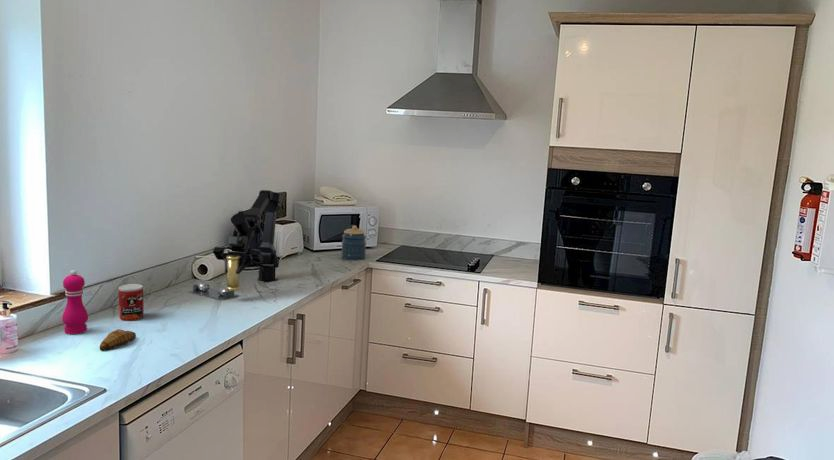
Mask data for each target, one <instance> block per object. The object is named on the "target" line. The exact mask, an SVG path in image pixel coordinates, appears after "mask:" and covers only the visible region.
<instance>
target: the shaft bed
mask: <svg viewBox="0 0 834 460" xmlns="http://www.w3.org/2000/svg"><path fill="white" fill-rule="evenodd" d="M187 292H188V293H191V294H195V295H199V296H202V297H206V298H210V299H215V300H218V301H224V300H228V299H232V298H235V297H238V296H240V294H236V293H235V291H230V290H227V289H226V288H225V287H218V289H215V288H211V287H210V285H209V284H208V283H204V282H199V281H198V282H196V283H195V284H192V290H189V291H187Z"/></svg>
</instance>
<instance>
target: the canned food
mask: <svg viewBox="0 0 834 460" xmlns="http://www.w3.org/2000/svg"><path fill="white" fill-rule="evenodd" d="M118 311H119V312H118V313H119V315H118V316H119V319H120V320H121V321H124V322H125V321H126V322H130V321H131V322H133V321H138V320H141V319H143V317H144V312H145V308H144V286H143V285H142V284H139V283H129V284H127V283H126V284H123V285H120V286H119V287H118Z"/></svg>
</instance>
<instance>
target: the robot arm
mask: <svg viewBox="0 0 834 460" xmlns="http://www.w3.org/2000/svg"><path fill="white" fill-rule="evenodd" d="M283 203H284V195H282V194H281V192H276V191H272V190H269V189H268V190H267V189H261V190H259V193H258V196H257V198H256V199H255V201H254V202H253V204H252V205H251V207H250V208H249V209H246V210H244V211H243V210H239V211H238V212H237V213H236V214H233V215H232V216H231V217H230V222H231V225H232V226H233V228H234V230H235V231H236V232H237V236H233V235H229V236H228V237H227V243H226V245H228V246H229V249H230V250H229V249H226V247H225V246H215V247H214V248H213V250H212V254H213V255H214V256H215V259H216V260H218V261H219V260H222V261H223V262H224V272H225V274H227V259H226V256H227V255H240V261H239V267H238V270H237V274H239V275H240V273H241V272H242V271H243V270H245V269H246V268H247V267H249V266H250V265H253V264H254V263H255V265H256V267H259V270H258V277H257V280H258V281H261V282H264V283H269V282H274V281H278V278H276V269H277V268H279V265H280V261H279V258H278V256H277V249H276V248H275V246H274V241H275V231H276V229H275V228H276V222H277V214H278V212H279V211H280V209H281V208H282V204H283ZM264 211H265V215H264V216H265V217H264V224H263V231H262V233H263V234H262V240H261V241H262V243H261V244H260V246H257V248H256V249H255V248H254V249H253V248H251V242H252V240H253V238H255V231H254V229H255V228H256V229H257V228H259V227H260V225H261V224H262V217H261V216H262V214H263V213H264ZM253 228H254V229H253ZM248 250H249V251H248Z"/></svg>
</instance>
